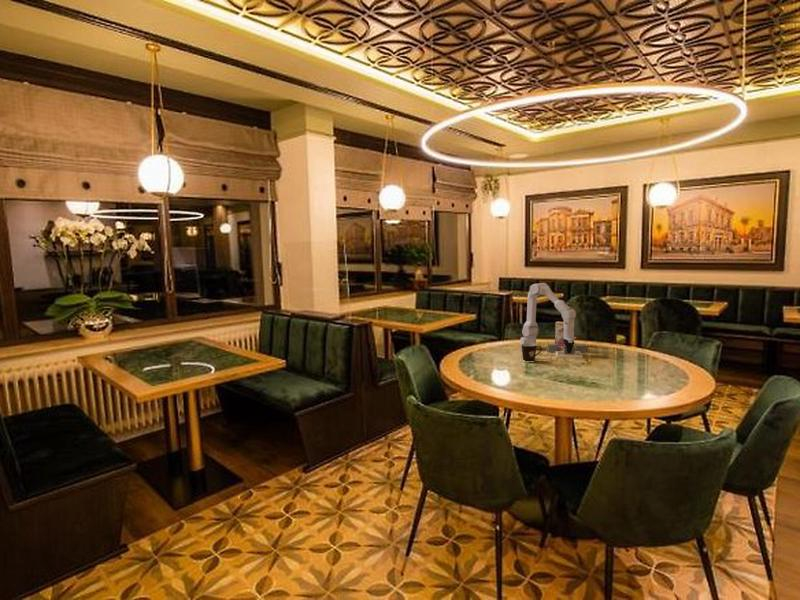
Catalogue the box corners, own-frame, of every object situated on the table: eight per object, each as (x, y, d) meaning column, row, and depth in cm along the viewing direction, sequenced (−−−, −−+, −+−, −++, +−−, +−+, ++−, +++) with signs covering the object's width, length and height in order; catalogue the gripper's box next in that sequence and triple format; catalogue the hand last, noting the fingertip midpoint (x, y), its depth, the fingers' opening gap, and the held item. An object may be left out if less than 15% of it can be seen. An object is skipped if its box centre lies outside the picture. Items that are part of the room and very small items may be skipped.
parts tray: (579, 355, 281) (579, 351, 280) (582, 359, 271) (582, 355, 271) (555, 355, 284) (555, 351, 283) (557, 359, 274) (557, 354, 274)
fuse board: (587, 352, 287) (587, 346, 286) (589, 355, 281) (589, 348, 280) (545, 352, 292) (545, 346, 292) (545, 354, 286) (545, 348, 286)
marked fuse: (573, 353, 278) (573, 345, 278) (574, 354, 274) (574, 347, 274) (563, 353, 280) (563, 345, 279) (563, 354, 276) (563, 346, 275)
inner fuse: (557, 351, 289) (557, 344, 289) (558, 352, 286) (558, 345, 285) (547, 351, 291) (547, 343, 290) (548, 352, 287) (548, 345, 286)
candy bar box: (554, 347, 305) (554, 322, 303) (556, 345, 309) (556, 321, 307) (572, 348, 299) (572, 323, 297) (574, 347, 303) (574, 322, 301)
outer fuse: (585, 351, 286) (585, 344, 285) (586, 353, 282) (586, 345, 281) (574, 351, 287) (574, 344, 287) (575, 352, 283) (575, 345, 283)
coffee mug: (521, 363, 267) (521, 346, 266) (521, 359, 276) (521, 342, 275) (542, 363, 265) (542, 346, 264) (541, 360, 273) (541, 343, 272)
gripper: (577, 332, 267) (577, 355, 269) (574, 327, 282) (574, 349, 283) (564, 331, 269) (564, 355, 271) (562, 327, 283) (561, 349, 285)
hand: (568, 352), depth 277 cm, fingers closed on marked fuse, 4 cm apart
